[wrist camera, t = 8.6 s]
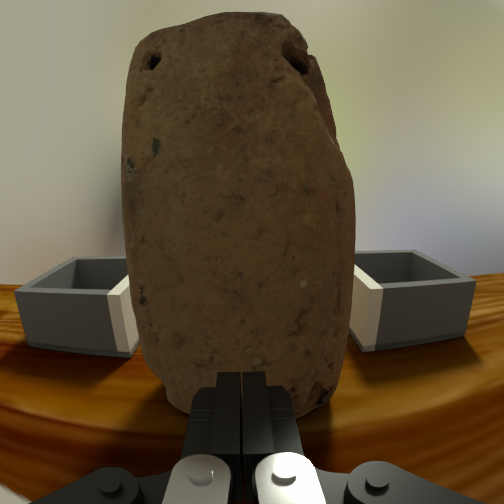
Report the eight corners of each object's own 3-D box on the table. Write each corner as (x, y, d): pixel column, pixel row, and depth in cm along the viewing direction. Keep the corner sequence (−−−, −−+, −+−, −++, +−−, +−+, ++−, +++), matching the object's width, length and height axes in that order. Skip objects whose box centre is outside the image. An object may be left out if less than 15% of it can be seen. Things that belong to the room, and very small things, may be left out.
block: (140, 409, 16) (110, 32, 11) (189, 349, 23) (177, 69, 18) (335, 442, 14) (351, -5, 9) (337, 364, 21) (345, 56, 16)
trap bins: (409, 293, 33) (415, 249, 32) (464, 336, 22) (476, 280, 21) (80, 300, 32) (73, 257, 31) (28, 346, 21) (14, 291, 20)
